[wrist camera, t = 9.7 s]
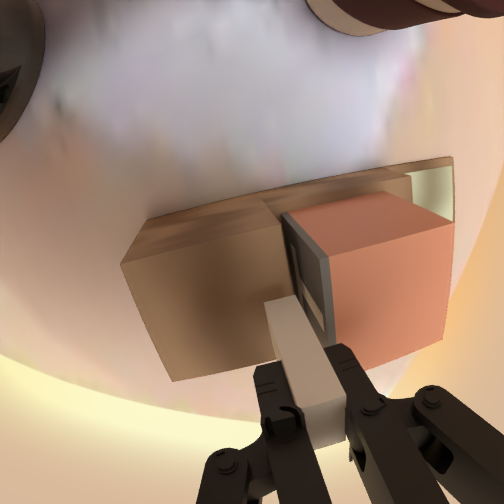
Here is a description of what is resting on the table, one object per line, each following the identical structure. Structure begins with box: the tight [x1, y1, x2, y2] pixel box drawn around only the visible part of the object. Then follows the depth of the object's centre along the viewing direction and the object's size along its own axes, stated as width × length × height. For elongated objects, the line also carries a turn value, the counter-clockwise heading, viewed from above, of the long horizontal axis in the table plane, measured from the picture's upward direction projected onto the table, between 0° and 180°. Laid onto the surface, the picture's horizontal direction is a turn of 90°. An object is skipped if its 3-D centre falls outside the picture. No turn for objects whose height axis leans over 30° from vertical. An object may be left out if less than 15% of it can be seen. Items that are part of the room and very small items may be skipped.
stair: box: [120, 157, 455, 382], centre depth 20 cm, size 26×8×8 cm, turn 102°
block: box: [281, 191, 455, 371], centre depth 17 cm, size 7×7×7 cm
